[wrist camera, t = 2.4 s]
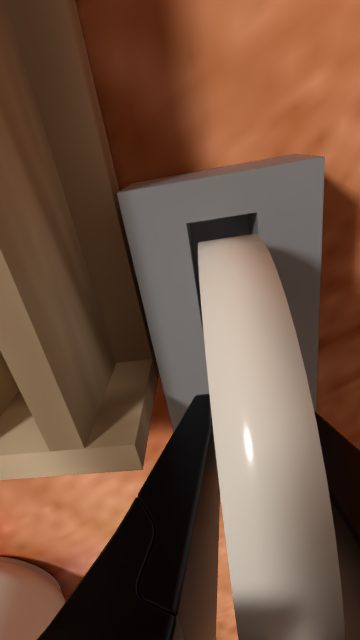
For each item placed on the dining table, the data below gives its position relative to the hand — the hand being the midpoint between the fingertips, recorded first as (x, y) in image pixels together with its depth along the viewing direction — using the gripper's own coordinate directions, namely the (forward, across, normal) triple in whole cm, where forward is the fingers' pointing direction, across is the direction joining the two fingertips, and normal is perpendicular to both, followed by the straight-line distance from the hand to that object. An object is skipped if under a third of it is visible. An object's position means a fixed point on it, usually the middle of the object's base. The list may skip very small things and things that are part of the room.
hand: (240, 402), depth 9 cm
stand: (+4, 0, 0) cm, 4 cm away
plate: (-1, 0, 0) cm, 1 cm away
